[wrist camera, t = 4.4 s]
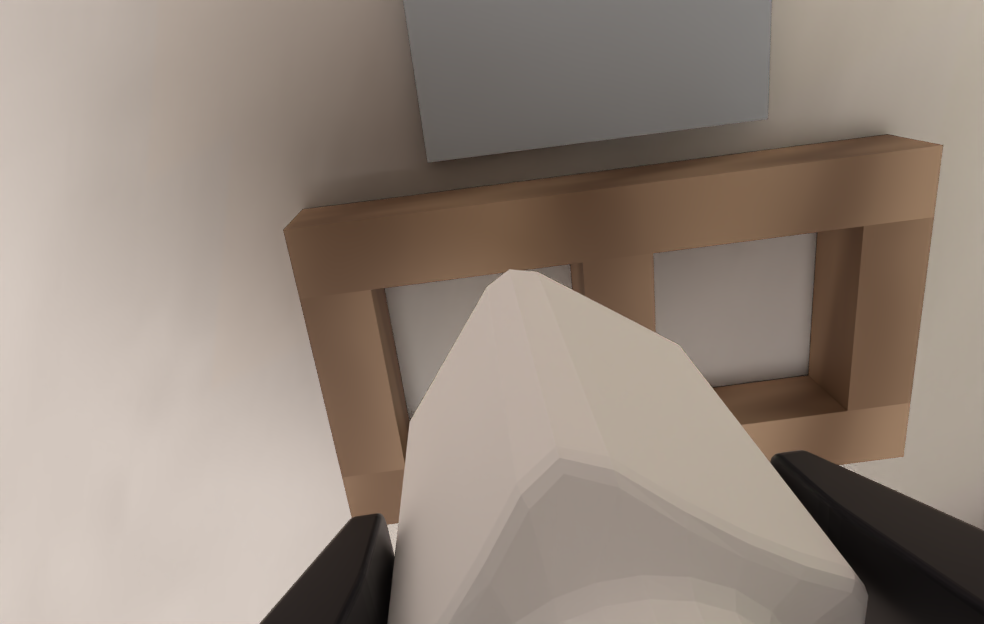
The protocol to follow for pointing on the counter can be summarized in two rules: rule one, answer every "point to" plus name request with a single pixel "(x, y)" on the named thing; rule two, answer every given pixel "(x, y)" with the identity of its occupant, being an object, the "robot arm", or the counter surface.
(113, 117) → the counter surface
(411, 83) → the counter surface
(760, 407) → the wooden compartment tray
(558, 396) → the pepper shaker
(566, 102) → the rubber pad
